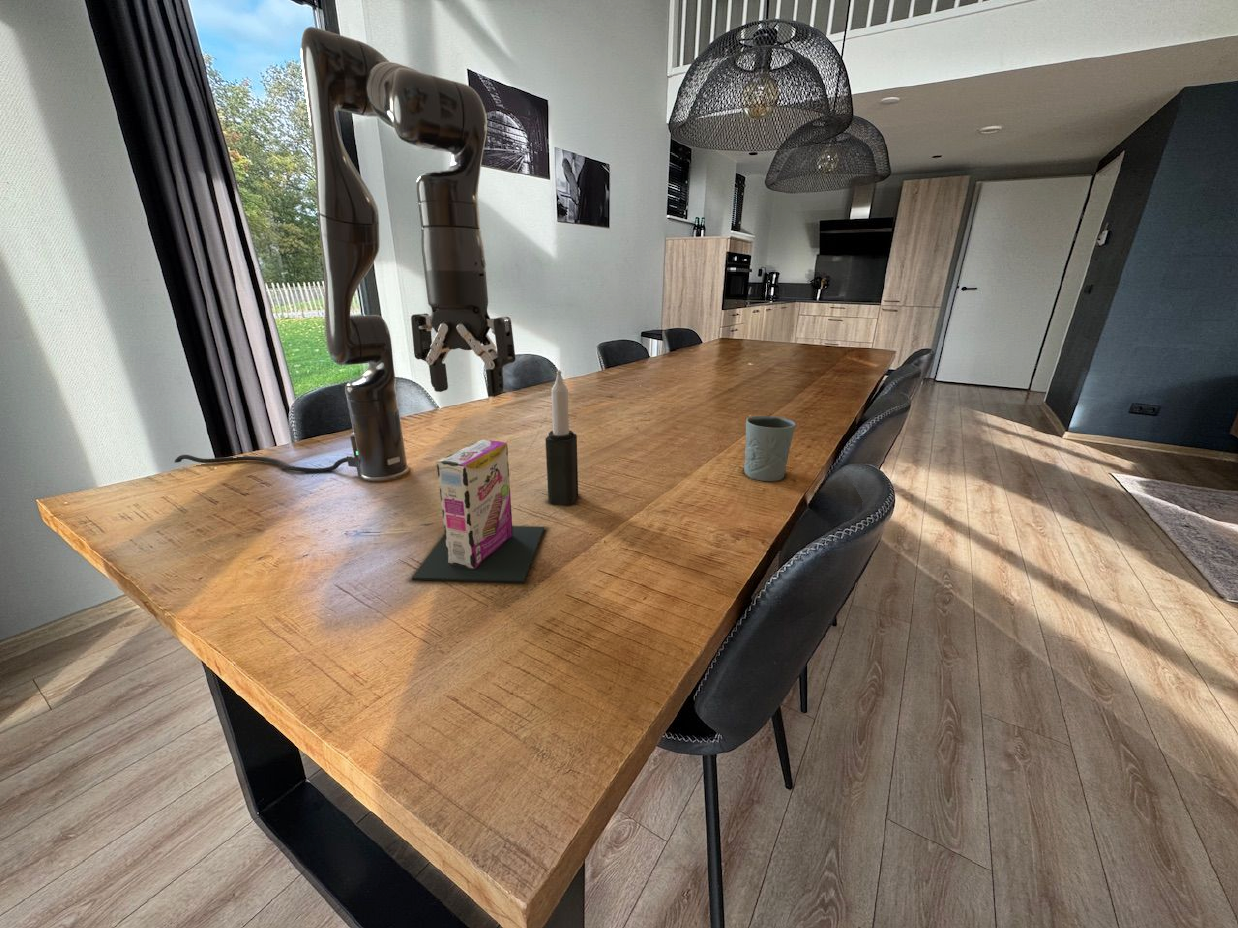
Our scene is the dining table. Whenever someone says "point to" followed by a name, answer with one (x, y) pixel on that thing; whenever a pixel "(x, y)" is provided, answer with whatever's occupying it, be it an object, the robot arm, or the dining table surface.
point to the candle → (561, 450)
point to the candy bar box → (475, 501)
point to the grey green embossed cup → (767, 447)
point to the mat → (486, 561)
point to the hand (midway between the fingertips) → (467, 393)
